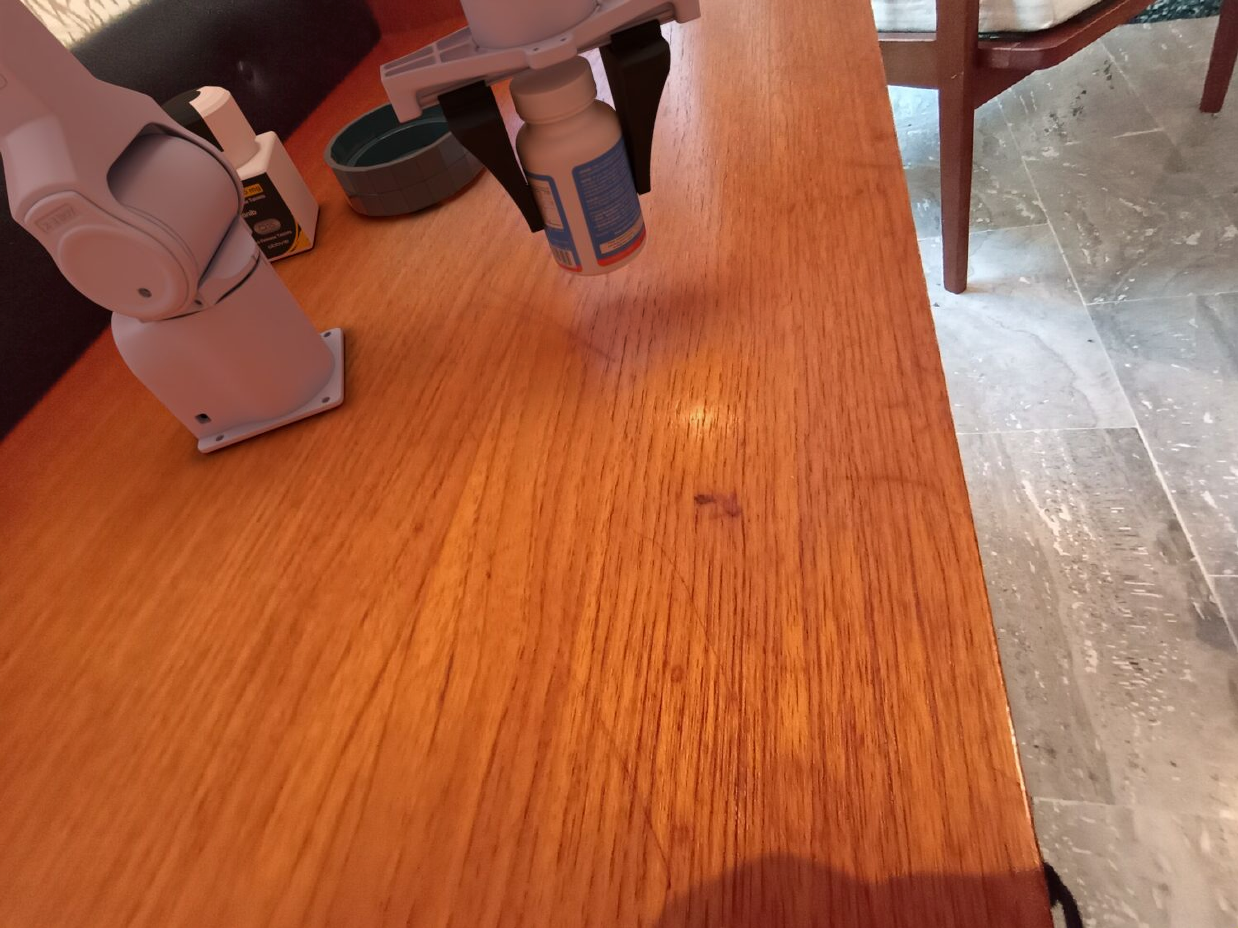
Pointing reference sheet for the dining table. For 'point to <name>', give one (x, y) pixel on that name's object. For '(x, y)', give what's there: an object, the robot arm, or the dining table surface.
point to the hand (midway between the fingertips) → (586, 204)
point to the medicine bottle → (253, 170)
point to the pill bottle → (577, 169)
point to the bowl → (398, 161)
